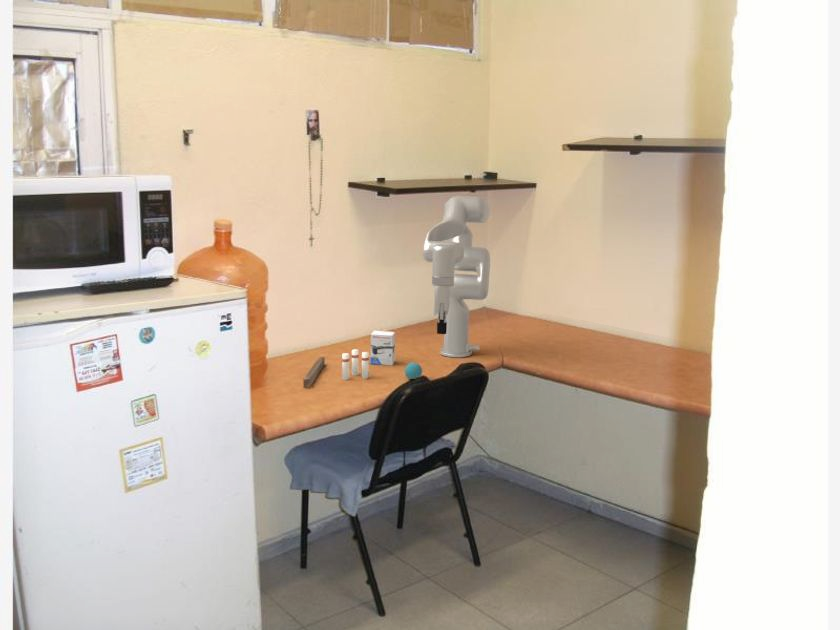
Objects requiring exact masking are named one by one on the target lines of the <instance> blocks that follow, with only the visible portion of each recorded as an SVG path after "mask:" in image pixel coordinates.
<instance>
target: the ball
mask: <svg viewBox="0 0 840 630" xmlns="http://www.w3.org/2000/svg"><path fill="white" fill-rule="evenodd" d="M422 373H423V369H422V366H421V365H420V364H419V363H416V362H410V363H408V364H407V365H406V367H405V369H404V374H405V376H406V378H407V379H409V380H411V379H414V378H417V377H419V378H421V376H422V375H423V374H422Z"/></svg>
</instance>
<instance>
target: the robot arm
mask: <svg viewBox="0 0 840 630" xmlns="http://www.w3.org/2000/svg"><path fill="white" fill-rule="evenodd" d="M443 209H444V213H443V218H442V221H440V222H439V223H437V224H436V225H434V226H433V227H431V229H429V230H428V232H427V234H426V235H425V239H424V242H423V246H422V257H423V260H425V261H426V263H427V262H428V263H431V265H432V269H431V270H432V271H431V272H432V273H431V274H432V275H431V276H432V277H431V286H433V287H434V295H433V296H434V297H433V315H434V316H436V315H437V323H436V325H437V326H436V334H437V335H443V347H442V348H440V349H439V354H440V355H442V356H444V357H449V358H466V357H469V356H471V355H472V353H473V351H480V345H477V344H471V343H470V341H469V332H470V331H469V329H470V328H469V326H470V308H469V306H468V304H467V303H466V301H464V300H475V301H483V300H485V299H487V298H488V297H487V296H488V294H489V287H490V275H491V274H490V271H491V270H490V269H491V254H490V252H489V249H487V248H486V247H480V246H479V247H478V246H473V233H472V231H471V229H470V228H469V227H468V225H467V223H477V224H483V223H486V222H487V221H488V220H489V218H490V214H491V213H490V212H491V211H490V206H489V202H488V201H487V200H486V199H485V198H483V197H481V196H475V195H474V196H473V195H472V196H471V195H469V196H467V195H455V196H453V197H452V196H451V197H450V198H449V199H448V200H447V201H446V202H445V203H444V206H443ZM447 240H450V241H447ZM455 271H457V272H458V271H459V272H473V273H477V274H467V273H466V274H464V273H455Z"/></svg>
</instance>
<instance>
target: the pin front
mask: <svg viewBox="0 0 840 630" xmlns="http://www.w3.org/2000/svg"><path fill="white" fill-rule="evenodd" d="M369 356H370V352H369V351H362V352H361V379H369V378H370V377H369V375H370V374H369V373H370V372H369V369H370V366H369V364H370V361H369V360H370V357H369Z"/></svg>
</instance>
